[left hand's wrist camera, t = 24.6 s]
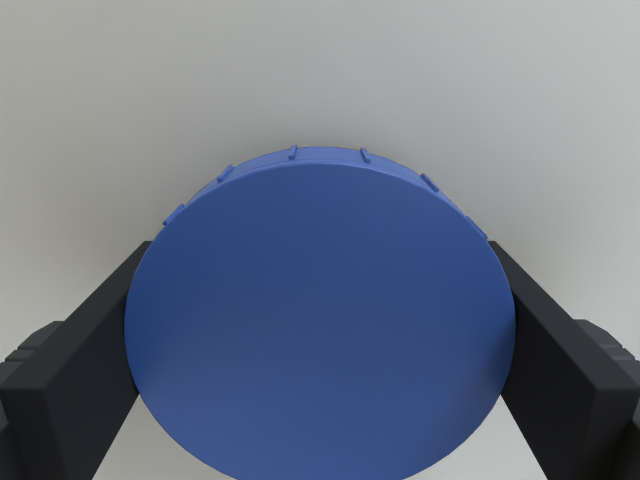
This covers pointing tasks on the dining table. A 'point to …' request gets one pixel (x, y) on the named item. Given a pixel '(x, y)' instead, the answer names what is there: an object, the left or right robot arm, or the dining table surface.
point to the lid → (319, 320)
